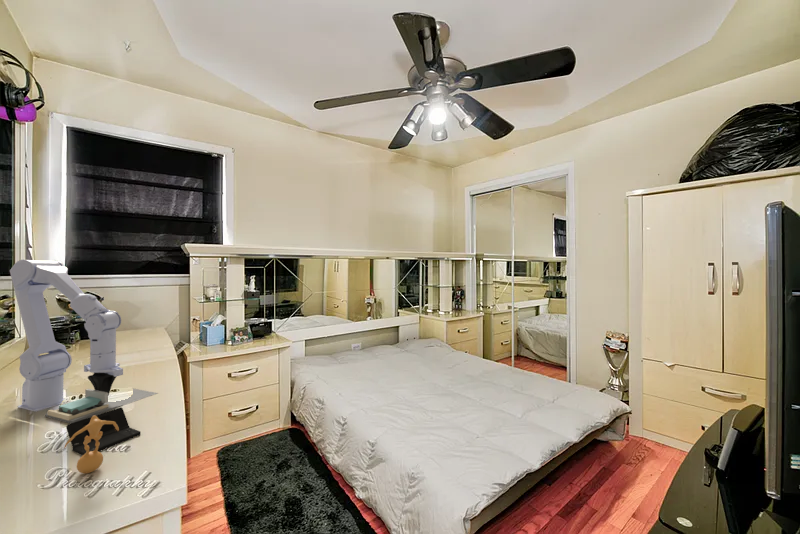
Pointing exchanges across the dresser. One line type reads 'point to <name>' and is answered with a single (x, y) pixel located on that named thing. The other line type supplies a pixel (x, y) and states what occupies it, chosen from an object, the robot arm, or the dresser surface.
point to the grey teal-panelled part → (85, 402)
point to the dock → (97, 408)
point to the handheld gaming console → (109, 431)
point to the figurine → (93, 458)
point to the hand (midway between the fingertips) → (103, 397)
